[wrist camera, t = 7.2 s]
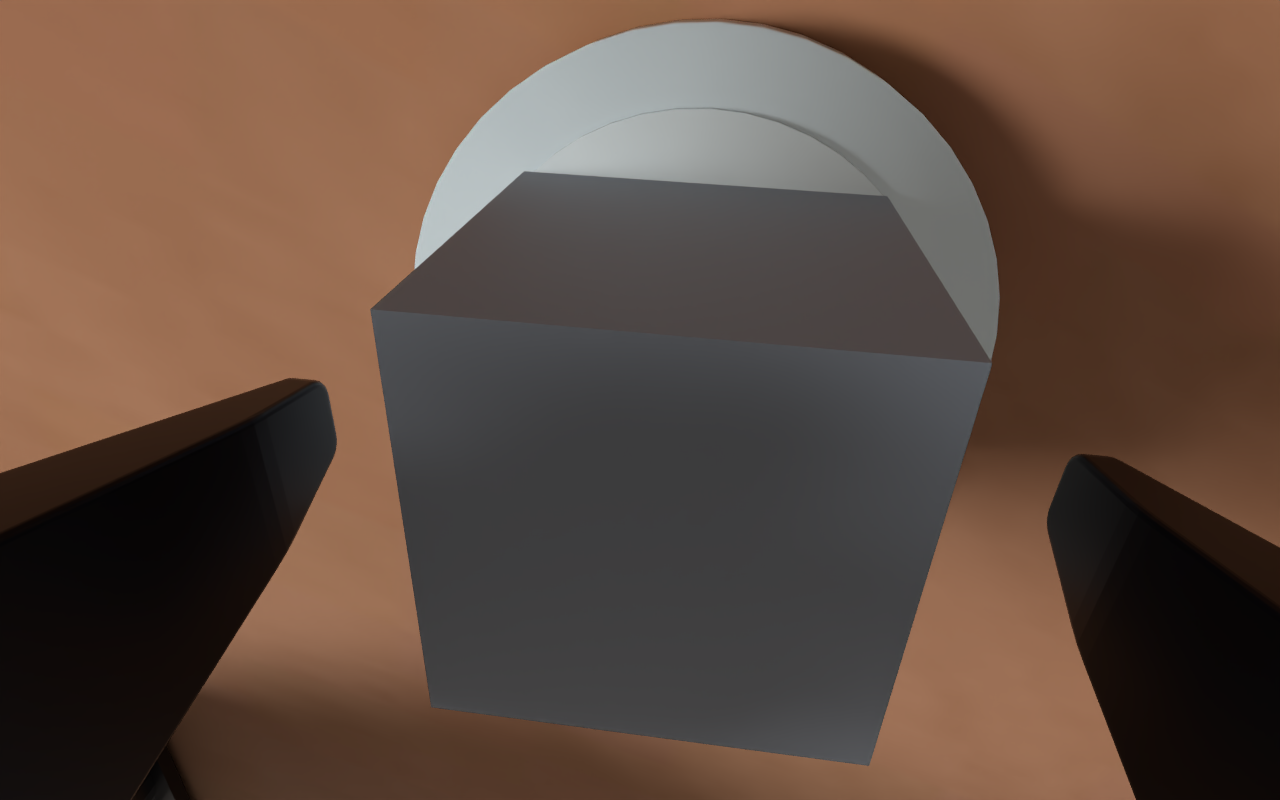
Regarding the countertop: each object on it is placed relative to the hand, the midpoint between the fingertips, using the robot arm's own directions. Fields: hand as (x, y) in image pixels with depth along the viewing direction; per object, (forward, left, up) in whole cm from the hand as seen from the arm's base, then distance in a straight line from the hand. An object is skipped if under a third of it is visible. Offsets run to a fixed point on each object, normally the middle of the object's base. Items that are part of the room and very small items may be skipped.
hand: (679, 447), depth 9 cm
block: (0, 0, -3) cm, 3 cm away
